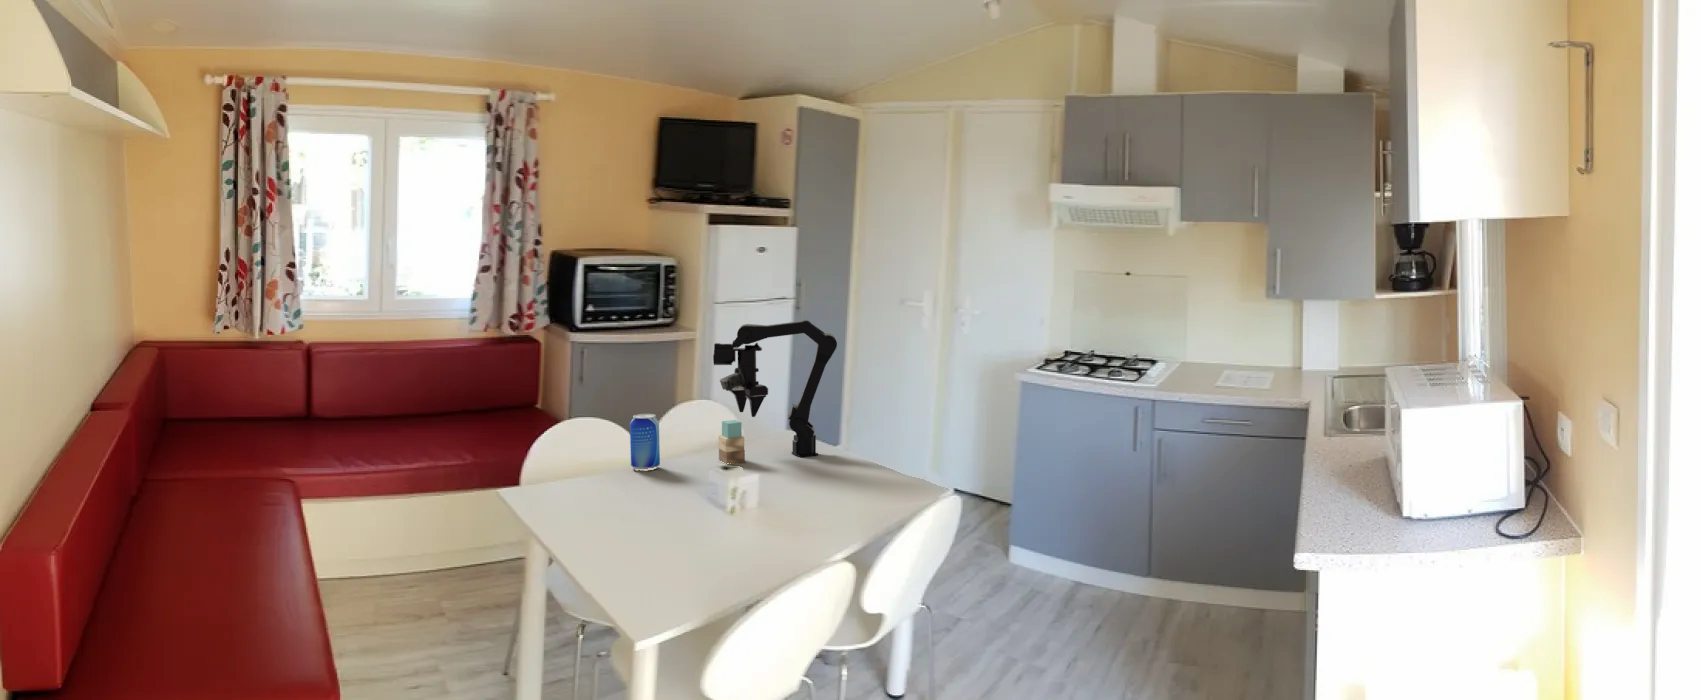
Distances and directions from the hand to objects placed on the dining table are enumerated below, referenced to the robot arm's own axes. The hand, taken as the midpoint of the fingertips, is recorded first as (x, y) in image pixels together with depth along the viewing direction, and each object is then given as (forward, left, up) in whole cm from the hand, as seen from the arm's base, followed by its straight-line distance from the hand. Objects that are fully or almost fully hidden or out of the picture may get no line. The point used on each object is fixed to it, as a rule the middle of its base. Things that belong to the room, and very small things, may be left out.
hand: (747, 414), depth 321 cm
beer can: (+34, +2, -13) cm, 37 cm away
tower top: (+8, +6, -9) cm, 13 cm away
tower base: (+8, +6, -13) cm, 16 cm away
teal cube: (+8, +6, -5) cm, 11 cm away
